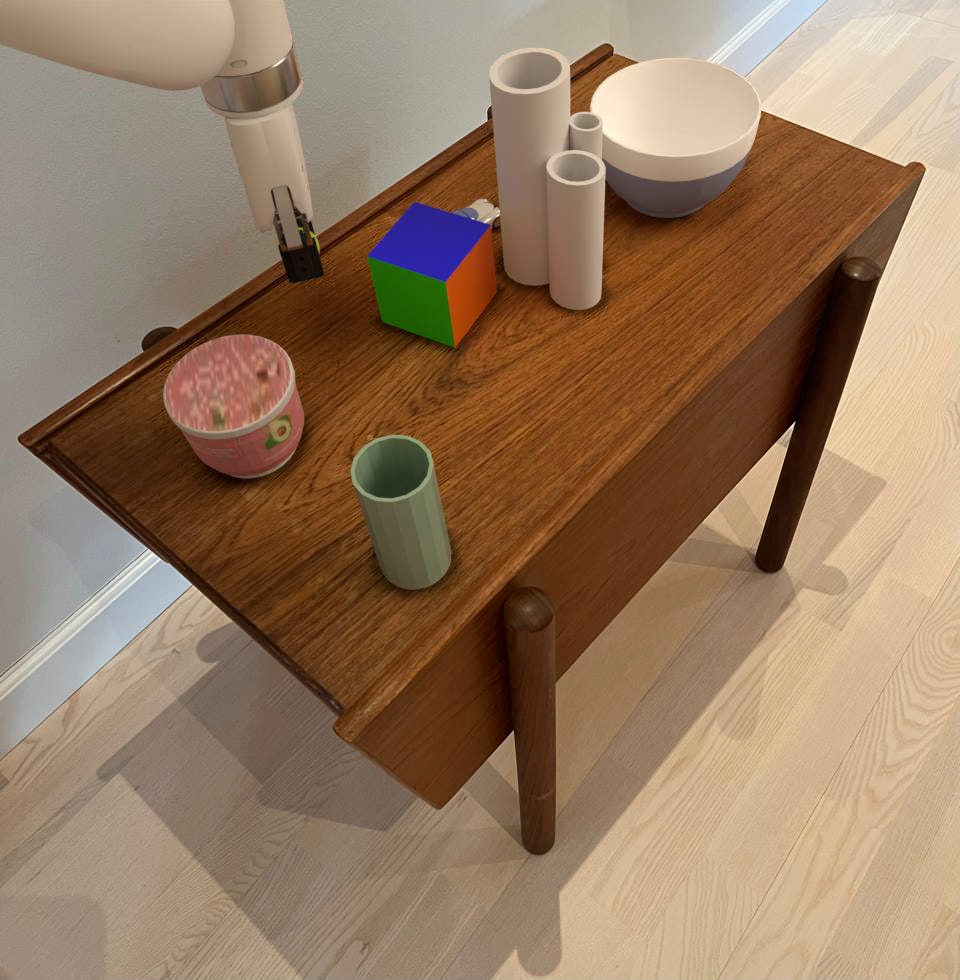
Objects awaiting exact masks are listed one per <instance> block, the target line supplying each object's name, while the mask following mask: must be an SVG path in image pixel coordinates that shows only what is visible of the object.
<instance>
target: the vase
mask: <svg viewBox="0 0 960 980" xmlns="http://www.w3.org/2000/svg"><path fill="white" fill-rule="evenodd" d="M488 79H489V90H490V91H489V92H490V93H489V94H490V105H491V116H492V117H491V118H492V130H493V142H494V155H495V156H494V157H495V168H496V182H497V193H498V208H500V221H501V226H500V232H501V233H500V234H501V245H502V257H503V268H504V271H505V273H506V274H507V276H508V277H509V278H510V279H511V280H513V281H514V282H516V283H519V284H521V285H524V286H543V285H544V286H545V285H548V286H549V294H550V298H551V299H552V300H553V302H555V303H556V304H557V305H559V306H560V307H562V308H565V309H568V310H574V311H582V310H583V311H584V310H588V309H591V308H593V307H595V306H597V304H598V303H599V302H600V300H601V299H602V290H603V263H604V262H603V259H604V258H603V257H604V253H603V252H604V231H605V229H604V228H605V227H604V226H605V199H606V197H605V196H606V194H605V193H606V179H605V172H606V168H605V165H604V162H603V161H602V134H603V121H602V118H601V117H600V116H598V115H597V114H594V113H591V112H590V111H578V112H576V113H574V114H572V115H571V66H570V61H569V60H568V59H567V58H566V57H565V55H564V54H562V53H560V52H558V51H556V50H554V49H549V48H545V47H525V48H519V49H515V50H512V51H509V52H507V53H504V54H503V55H501V56H500V57H498V58H497V59H496V60H495V61H494V62H493V63H492V64H491V66H490V69H489V71H488Z"/></svg>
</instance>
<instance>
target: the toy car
mask: <svg viewBox="0 0 960 980" xmlns="http://www.w3.org/2000/svg"><path fill="white" fill-rule="evenodd" d="M451 213H454V214H457V215H460V216H463V217H467V218H470V219H473V220H477V221H480V222H483V223H487V224H490V225H491V229H492V230H493V229H499V228H501V221H500V208H499V206H497V204H495V203H494V202H491V201H489V200H488V199H487V198H479V199H476V200H475V201H473V202H472V203H471V204H470V205H467V206H466V207H461V208H458V207H456V210H454V211H453V212H451Z"/></svg>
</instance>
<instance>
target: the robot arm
mask: <svg viewBox="0 0 960 980" xmlns="http://www.w3.org/2000/svg"><path fill="white" fill-rule="evenodd" d="M294 42H295V41H294V39H293V35H292V31H291V26H290V22H289V18H288V13H287V10H286V4H285V2H284V0H0V46H4V47H7V48H10V49H12V50H16V51H18V52H22V53H25V54H29V55H32V56H35V57H37V58H41V59H45V60H46V61H47V60H48V61H50V62H54V63H57V64H59V65H63V66H67V67H70V68H74V69H77V70H80V71H84V72H88V73H90V74H91V73H92V74H95V75H99V76H102V77H107V78H110V79H116V80H120V81H123V82H127V83H132V84H135V85H139V86H144V87H149V88H151V89H158V90H162V91H170V92H176V91H177V92H178V91H188V90H191V89H195V88H199V87H200V88H201V93H202V95H203V98H204V101H205V104H206V106H207V107H208V109H210V111H212V112H213V113H214V114H216V115H219V116H220V117H223V119H224V123H225V128H226V131H227V134H228V138H229V142H230V146H231V149H232V152H233V155H234V159H235V162H236V165H237V169H238V172H239V176H240V178H241V179H240V180H241V183H242V185H243V189H244V191H245V195H246V199H247V201H248V205H249V208H250V212H251V215H252V219H253V222H254V225H255V229H256V230H257V232H259V233H262V234H263V233H265V232H269V231H270V232H271V231H272V229H273V227H274V229H275V233H276V237H277V240H278V245H277V247H278V252H279V251H280V252H279V256H280V258H281V261H282V264H283V268H284V271H285V273H286V274H285V275H286V277H287V280H288V282H289V283H290V284H297V283H300V282H306V281H310V280H315V279H319V278H322V277H324V275H325V271H324V267H323V263H322V260H321V256H320V253H319V252H318V248H317V244H316V241H315V237H311V233H310V231H311V232H312V233H313V234H314V235H315V236H316V233H315V230H314V226H313V221H312V219H313V218H314V211H313V204H312V203H313V202H312V197H311V189H310V183H309V177H308V171H307V165H306V160H305V155H304V150H303V144H302V140H301V135H300V130H299V126H298V122H297V118H296V114H295V109H294V106H293V103H294V101H295V100H297V98H299V96H300V95H301V93H302V90H303V87H304V80H303V76H302V71H301V68H300V64H299V59H298V56H297V52H296V46H295V44H294ZM298 227H301V228H303V231H302V230H299V228H298ZM279 244H280V245H279Z"/></svg>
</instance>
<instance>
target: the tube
mask: <svg viewBox="0 0 960 980" xmlns="http://www.w3.org/2000/svg"><path fill="white" fill-rule="evenodd" d="M349 472H350V473H349V474H350V477H351V482H352V486H353V489H354V491H355V496H356V498H357V501H358V504H359V507H360V510H361V513H362V517H363V519H364V522H365V525H366V528H367V531H368V534H369V538H370V541H371V544H372V546H373V549H374V553H375V556H376V559H377V562H378V564H379V568H380V570H381V572H382V574H383V576H384V577H385V579H386V580H387V581H388V582H389V583H391V584H392V585H394V586H396V587H398V588H401V589H404V590H413V591H415V590H421V589H425V588H428V587H430V586H433V585H435V584H437V582H439V581H441V580H442V578H443V577H444V576H445V575H446V573H447V572H448V570H449V568H450V566H451V562H452V546H451V541H450V538H449V533H448V528H447V523H446V518H445V514H444V513H445V512H444V507H443V502H442V498H441V493H440V488H439V483H438V478H437V473H436V468H435V462H434V459H433V456H432V452H431V450H430V449H429V448H428V447H427V446H426V445H425V444H424V443H423V442H422V441H421V440H419V439H416V438H414V437H412V436H410V435H404V434H403V435H402V434H388V435H384V436H380V437H376V438H375V439H373V440H371V441H370V442H368V443H366V444H364V445H363V446H362V447H361V448H360V450H359V451H358V452H357V453H356V455H355V456H354V457H353V459H352V462H351V467H350V471H349Z"/></svg>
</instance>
